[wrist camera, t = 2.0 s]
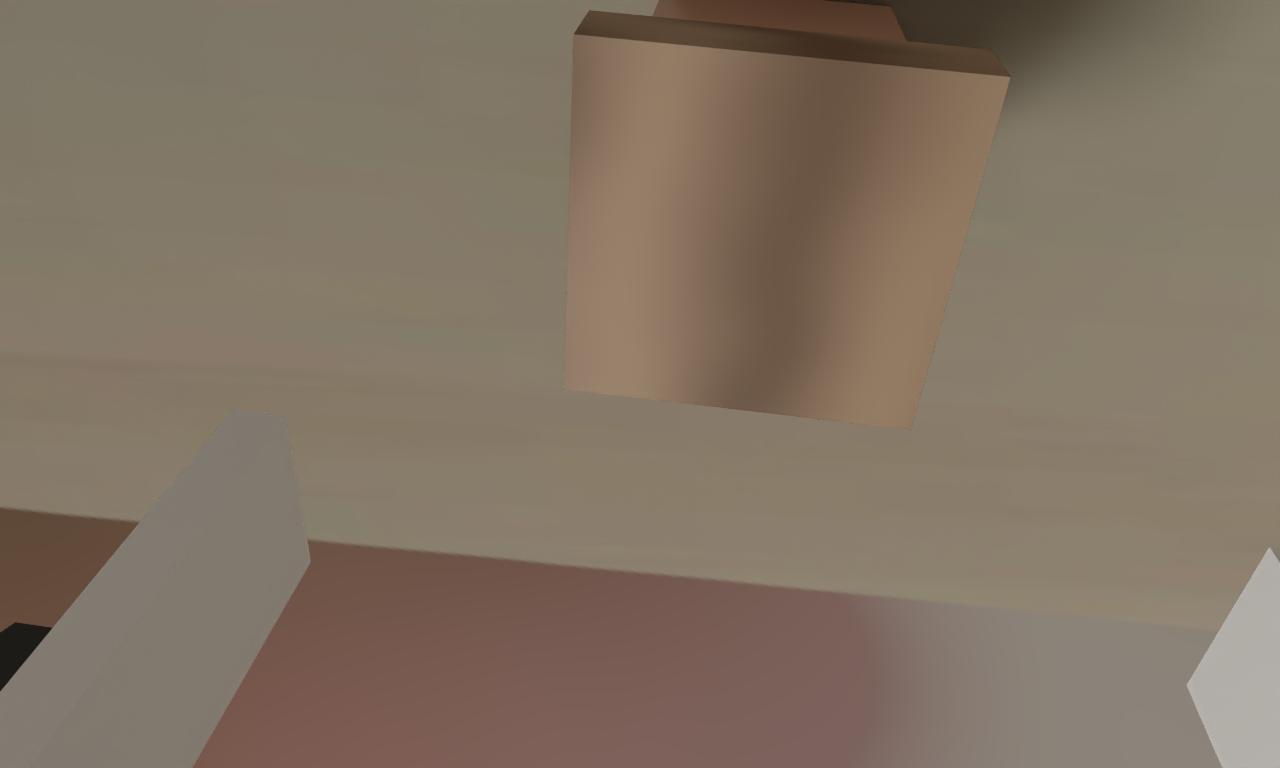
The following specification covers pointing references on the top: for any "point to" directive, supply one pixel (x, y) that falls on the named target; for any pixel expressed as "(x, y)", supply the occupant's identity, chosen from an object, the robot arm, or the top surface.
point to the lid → (768, 213)
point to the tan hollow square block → (790, 15)
